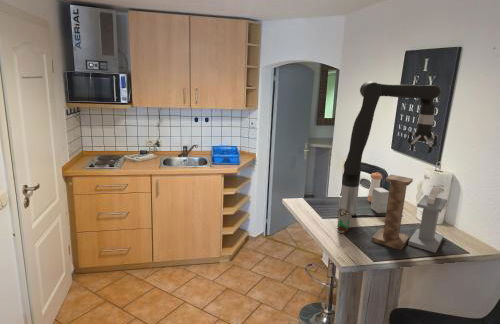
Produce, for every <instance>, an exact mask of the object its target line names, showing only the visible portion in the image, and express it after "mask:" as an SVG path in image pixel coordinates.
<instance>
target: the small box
mask: <svg viewBox="0 0 500 324" xmlns="http://www.w3.org/2000/svg"><path fill="white" fill-rule="evenodd" d="M388 196H389V190H387V189H385V188H384V187H380V188H373V193H372V201H371V202H370V209H371V210H373V211H374V212H376V213H377V214H384V213H385V214H386V210H387V203H388Z"/></svg>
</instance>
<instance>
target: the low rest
mask: <svg viewBox="0 0 500 324" xmlns="http://www.w3.org/2000/svg"><path fill="white" fill-rule="evenodd" d="M428 196H429V195H427V194H425V195H423V196H422V198H421V199H420V200H419V201H418V203H416V204H417V205H416V207H417V208H420V209H422V214H421V220H420V224H419V225H420V227H418V228H416V230H415V231H414V233H413V234H412V236H411V237H409V240H408V242H407V243H408V246H411V247H415V248H418V249H422V250H425V251H428V252H432V253H435V254H436V253H437V251H438V249H439V247H440V245H441V243H442V242H443V240H444V239H443V238H444V235H443V234H440V233H436V230H437V225H438V224H437V223H438V220H439V214H440V213H441V212H442V211H443V210H444V208H445V207H446V205H447V203H448V199H447V198H446V199H445V198H441V197H437V199H436V201H435V204H434V206H432V205H427V198H428Z"/></svg>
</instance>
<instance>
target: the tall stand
mask: <svg viewBox="0 0 500 324" xmlns="http://www.w3.org/2000/svg"><path fill="white" fill-rule="evenodd" d="M413 180H414V179H413V178H412V177H406V176H400V175H396V174H390V175H388V176H386V177H385V182H388V183H389V189H388V191H389V196H388V203H387V210H386V213H385V219H384V224H383V226H384V227H380V228H379V229H378V230H377V231H376V232H375V233H374V234H373V235H372V236H371V241H372V242H373V243H377V244H381V245H383V246H386V247H389V248H393V249H396V250H400V251H402V250H403V249H404V247H405V246H406V244H407V243H408V242H409V240H410V238H411V237H410V235H408V234H405V233H402V232H401V233H400V231H401V227H402V219H403V212H404V208H405V207H404V206H405V198H406V194H407V193H406V192H407V187H408V186H409V185H410V184H412V183H413Z"/></svg>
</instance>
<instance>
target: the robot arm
mask: <svg viewBox="0 0 500 324" xmlns="http://www.w3.org/2000/svg"><path fill="white" fill-rule="evenodd" d="M359 93H360V95H361V96H362V98H363V99H362V103H361V108H360V110H359V112H358V114H357V115H356V118H355V120H354V122H353V125H352V131H351V136H350V142H349V148H348V153H347V156H346V159H345V162H344V164H343V168H344V169H343V174H342V175H343V176H342V183H341V194H340V195H339V201H338V210H337V212H338V213H339V208H343V209H346V210H348V211H350V212H351V216H354V215H356V213H357V205H358V196H359V190H360V189H359V188H360V180H361V173H362V172H361V171H362V158H363V155H364V150H365V148H366V145H367V143H368V140H369V137H370V133H371V130H372V126H373V121H374V116H375V111H376V108H377V105H378V102H379V100H380V97H391V98H399V99H400V98H401V99H419V100H420V109H419V115H418V120H417V124H416V131H415V132H413V131H410V132H409V135H408V138H407V143H409V144H410V147H409V148H410V151H411V152H413V151H415V143H416V142H418V141H419V142H423V143H425V142H426V143H427V144H428V152H427V153H428V154H429V155H430V154H431V153H433V147H437V145H438V139H439V138H438V137H439V135H438V134H432V133H433V126H434V120H435V110H436V104H434V100H435V99H436V98H438V97H440V94H441V89H440V87H439V86H437V85H433V84H426V85H425V84H424V85H419V84H387V83H386V84H385V83H379V82H375V81H370V80H369V81H366V82H364V83H362V84H361V86H360V88H359ZM413 137H415V139H414V140H412V138H413ZM431 138H432V139H433V142H432V140H431Z"/></svg>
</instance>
